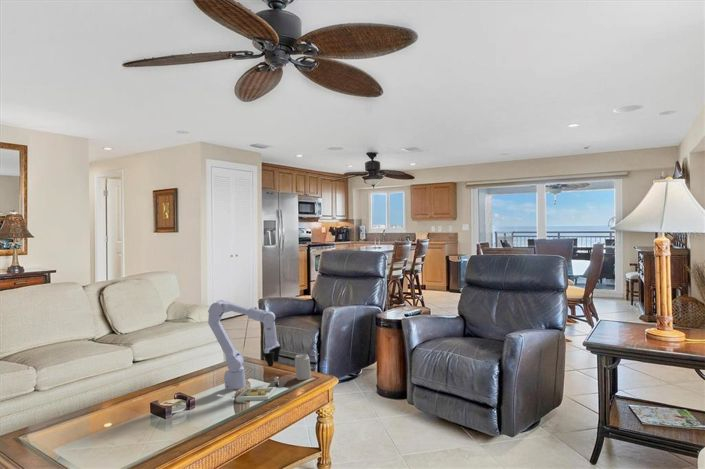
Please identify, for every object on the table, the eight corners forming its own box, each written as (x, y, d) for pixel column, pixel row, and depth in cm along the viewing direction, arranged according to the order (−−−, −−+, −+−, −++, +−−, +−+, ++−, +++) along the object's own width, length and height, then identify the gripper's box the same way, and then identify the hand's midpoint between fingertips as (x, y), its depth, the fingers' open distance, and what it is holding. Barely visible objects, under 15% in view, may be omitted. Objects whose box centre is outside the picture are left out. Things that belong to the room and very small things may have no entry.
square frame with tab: (246, 398, 193) (246, 393, 193) (251, 394, 198) (251, 388, 198) (263, 397, 191) (263, 392, 191) (267, 393, 197) (267, 388, 197)
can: (310, 380, 210) (308, 356, 210) (295, 382, 210) (293, 357, 210) (312, 375, 218) (309, 352, 218) (297, 377, 218) (295, 353, 218)
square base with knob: (266, 389, 203) (265, 380, 203) (272, 383, 211) (271, 374, 211) (282, 388, 202) (281, 379, 202) (287, 383, 210) (286, 374, 210)
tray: (236, 402, 190) (236, 397, 190) (246, 393, 201) (246, 388, 201) (268, 401, 188) (268, 396, 188) (276, 391, 199) (276, 387, 199)
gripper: (273, 339, 203) (276, 367, 203) (283, 332, 218) (285, 358, 217) (259, 340, 204) (262, 368, 204) (270, 333, 219) (272, 359, 219)
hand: (273, 363), depth 211 cm, fingers open, 7 cm apart
